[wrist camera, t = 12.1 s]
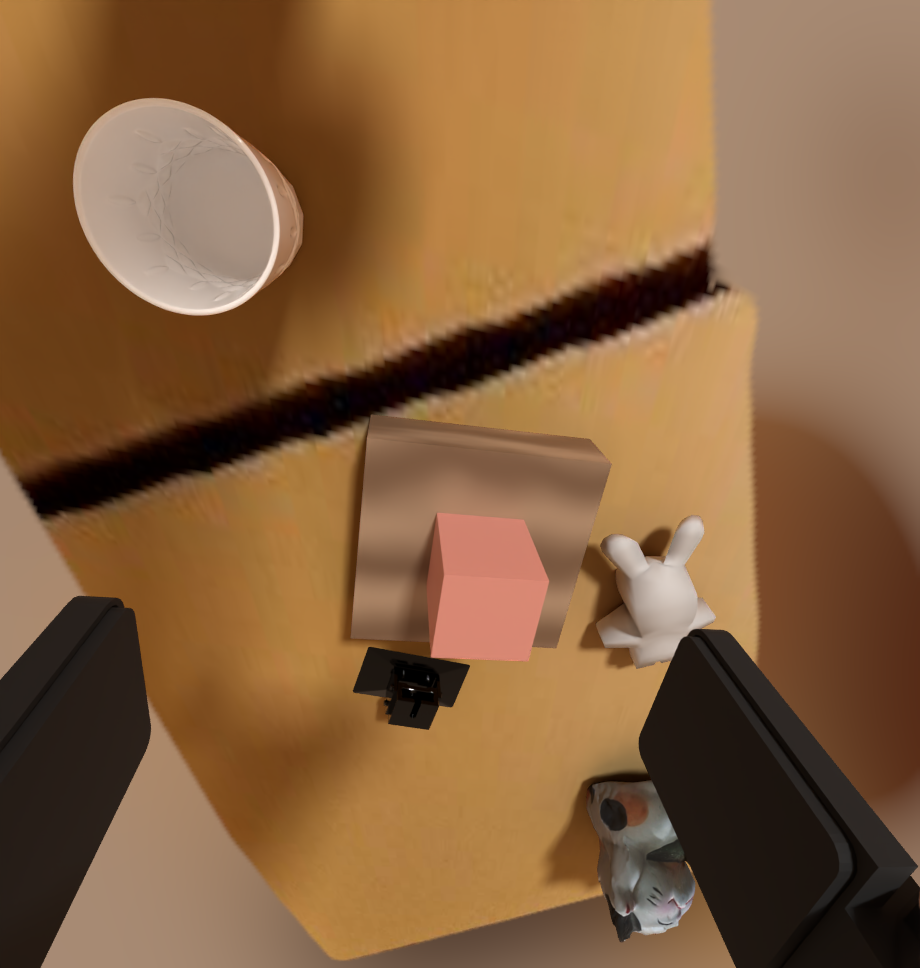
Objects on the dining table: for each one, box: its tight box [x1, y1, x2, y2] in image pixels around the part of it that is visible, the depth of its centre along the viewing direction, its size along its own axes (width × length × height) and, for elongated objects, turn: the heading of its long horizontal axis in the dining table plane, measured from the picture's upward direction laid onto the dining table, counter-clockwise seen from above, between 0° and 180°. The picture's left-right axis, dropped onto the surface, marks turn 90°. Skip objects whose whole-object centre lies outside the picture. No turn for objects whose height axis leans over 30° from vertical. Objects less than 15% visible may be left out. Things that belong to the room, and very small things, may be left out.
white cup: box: [73, 98, 304, 316], centre depth 26 cm, size 8×8×10 cm
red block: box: [426, 513, 549, 661], centre depth 34 cm, size 6×6×7 cm
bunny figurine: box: [596, 515, 716, 669], centre depth 43 cm, size 10×5×15 cm
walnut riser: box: [351, 415, 612, 648], centre depth 39 cm, size 16×16×5 cm
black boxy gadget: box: [353, 647, 470, 730], centre depth 46 cm, size 12×7×5 cm, turn 71°
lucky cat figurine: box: [586, 780, 695, 942], centre depth 53 cm, size 15×12×14 cm
